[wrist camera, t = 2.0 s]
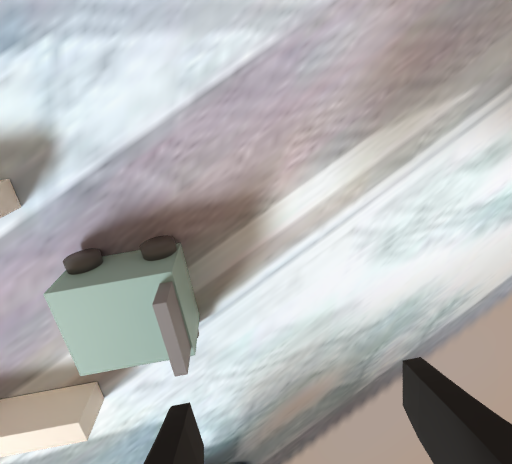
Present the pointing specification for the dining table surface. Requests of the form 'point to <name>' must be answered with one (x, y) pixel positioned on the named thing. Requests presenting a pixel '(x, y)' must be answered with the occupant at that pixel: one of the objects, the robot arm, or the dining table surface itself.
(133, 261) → the cart
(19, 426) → the bay
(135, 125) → the dining table surface
